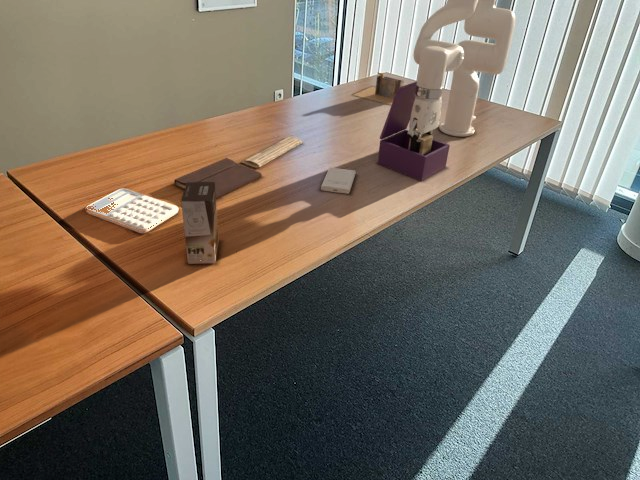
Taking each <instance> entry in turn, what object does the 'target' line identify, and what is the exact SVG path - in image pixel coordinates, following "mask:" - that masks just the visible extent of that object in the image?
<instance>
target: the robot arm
mask: <svg viewBox="0 0 640 480" xmlns="http://www.w3.org/2000/svg"><path fill="white" fill-rule="evenodd" d="M496 1H497V0H446V3H445V4H444V5H443V6H442V7H440V8H438V10H436V11H435V12H433V14H432V15H430V17H428V18H427V20H425V22H424V23H423V25H422V26H421V29H420V31H419V34H418V37H417V39H416V42H415V45H414V48H413V60H414V62H415V63H416V65H419V66H418V72H417V79H416V82H417V85H416V92H415V100H414V104H413V108H412V112H411V117H410V121H409V124H408V126H409V129H408V133H407V134H408V135H409V136H410V140H411V143H410V150H411V151H413V152H416V153H419V151H420V145H421V142H420V139H421V135H422V134H428V135H431V136H433V135H434V131H435V129H437V128H438V127H439V131H441V132H442V133H444V134H445V135H448V136H453V137H461V138H463V137H470V136H473V135H474V134H475V127H473V126H472V123H473V122H475V121H476V119H477V117H476V116H475V109H476V105H477V100H478V94H479V89H480V80H479V77H478V75H477V73H481V74H488V75H494V76H495V75H500V74H502V73H503V71H504V70H505V68H506V65H507V62H508V59H509V53H510V49H511V45H512V40H513V37H514V31H515V27H516V15H515V13H514V11H513V10H511V9H508V8H502V7H497V6H496ZM462 21H464V25H463V26H464V27H463V29H464V33H465V34H467V35H468V36H471V37H475V38H481V39H487V40H493V41H494V43H491V42H485V41H480V40H474V39H464V40H462V41H460V42H458V43H454V42H447V41H443V40H436V39H432V38H433V36H434V35H435V34H436V32H437V31H439V30H440V29H442V28H444V27H446V26H448V25H451V24H455V23H458V22H462ZM446 72H452V77H451V85H450V89H449V95H448V100H447V107H446V112H445V118H444V122H441V123H440V121H441V112H442V105H443V104H442V99H443V98H442V94H443V88H444V83H445V78H446V77H445V76H446ZM415 133H418V137H417V136H416V135H415Z"/></svg>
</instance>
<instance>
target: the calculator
mask: <svg viewBox="0 0 640 480" xmlns="http://www.w3.org/2000/svg"><path fill="white" fill-rule="evenodd" d="M108 198H110V199H111V198H113V199H111V200H110V199H108ZM113 202H114V204H116V205H114V204H113V205H114V207H115V208H114V207H112V206H113V205H111V203H113ZM93 204H94V205H93ZM117 204H118V205H117ZM108 205H110V206H111V207H112V209H114V210H111V209H110V210H111V211H110V210H108V209H107V210H108V211H110V212H109V213H107V214H106V213H104V212H101V211H100V212H101V213H100V212H98V209H99V210H100V209H102V208H104V207H106V206H108ZM88 206H93V207H94V209H96V210H97V212H96V210H94V209H93V210H91V209H88V208H87V207H88ZM95 206H96V207H95ZM93 207H91V208H93ZM108 207H109V206H108ZM111 207H109V208H111ZM86 208H87V209H88V210H90V211H93V212H95V213H98V214H101V215H103V216H106V217H108V218H110V219H113V220H116V221H119V222H121V223H123V224H125V225H123V224H120V223H118V222H115V221H112V220H110V219H107V218H104V217H101V216H99V215H96V214H93V213H91V212H88V211H86V210H85V212H86V213H87V214H88V215H90V216H92V217H96V218H98V219H101V220H104V221H106V222H109V223H112V224H114V225H117V226H120V227H122V228H125V229H128V230H131V231H132V232H136V233H138V234H146V233H148V232H150V231H151V230H153V229H154V228H156V227H157V226H159V225H161V224H163V223H164V222H165V221H167V220H169V219H170V218H172V217H173V216H175V215H176V214H178V212H179V207H178V206H177V205H175V204H173V203H169V202H166V201H164V200H161V199H157V198H155V197H152V196H149V195H147V194H143V193H141V192H137V191H134V190H131V189H128V188H119V189H116V190H114V191H113V192H111V193H109V194H106V195H105V196H103V197H102V198H100V199H97V200H96V201H93V202H92V203H90V204H88V205H87V206H86V207H85V209H86ZM161 220H162V221H161ZM156 223H157V224H156ZM126 225H128V226H130V227H128V226H126ZM153 225H154V226H153ZM151 226H152V227H151ZM131 227H133V228H131ZM150 227H151V228H150ZM134 228H136V229H134ZM148 228H149V229H148ZM137 229H138V230H137ZM139 230H145V231H139Z"/></svg>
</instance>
